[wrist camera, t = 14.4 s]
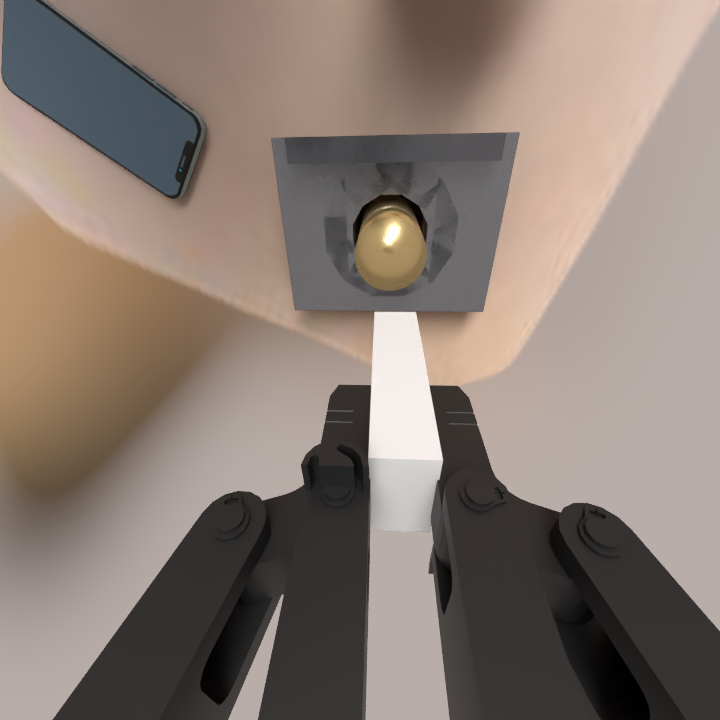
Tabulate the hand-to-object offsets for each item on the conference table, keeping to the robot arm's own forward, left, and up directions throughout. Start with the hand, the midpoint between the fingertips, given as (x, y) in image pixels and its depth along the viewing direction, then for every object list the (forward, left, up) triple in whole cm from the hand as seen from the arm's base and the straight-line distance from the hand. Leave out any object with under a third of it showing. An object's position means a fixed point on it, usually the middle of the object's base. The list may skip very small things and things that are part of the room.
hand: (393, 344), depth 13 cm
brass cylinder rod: (0, 0, -22) cm, 22 cm away
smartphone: (-23, +9, -23) cm, 34 cm away
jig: (0, 0, -22) cm, 22 cm away
